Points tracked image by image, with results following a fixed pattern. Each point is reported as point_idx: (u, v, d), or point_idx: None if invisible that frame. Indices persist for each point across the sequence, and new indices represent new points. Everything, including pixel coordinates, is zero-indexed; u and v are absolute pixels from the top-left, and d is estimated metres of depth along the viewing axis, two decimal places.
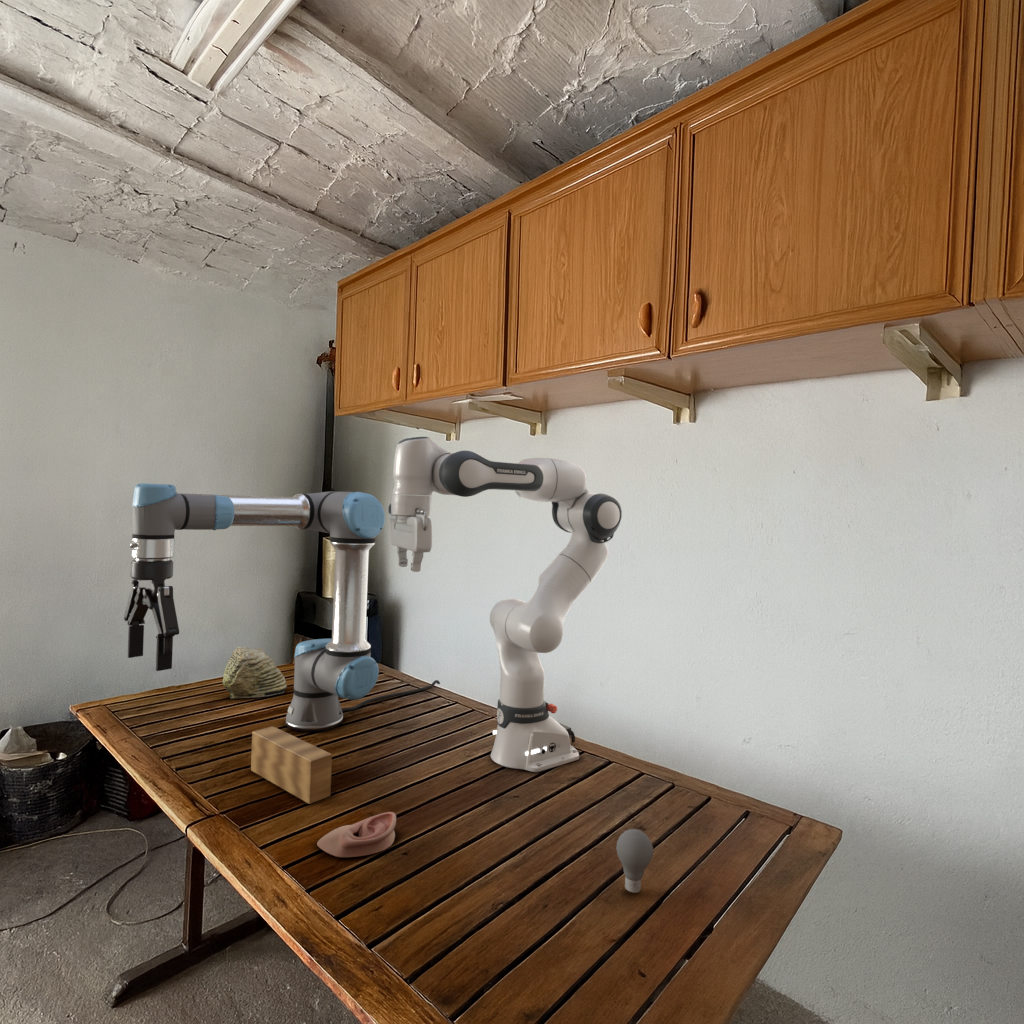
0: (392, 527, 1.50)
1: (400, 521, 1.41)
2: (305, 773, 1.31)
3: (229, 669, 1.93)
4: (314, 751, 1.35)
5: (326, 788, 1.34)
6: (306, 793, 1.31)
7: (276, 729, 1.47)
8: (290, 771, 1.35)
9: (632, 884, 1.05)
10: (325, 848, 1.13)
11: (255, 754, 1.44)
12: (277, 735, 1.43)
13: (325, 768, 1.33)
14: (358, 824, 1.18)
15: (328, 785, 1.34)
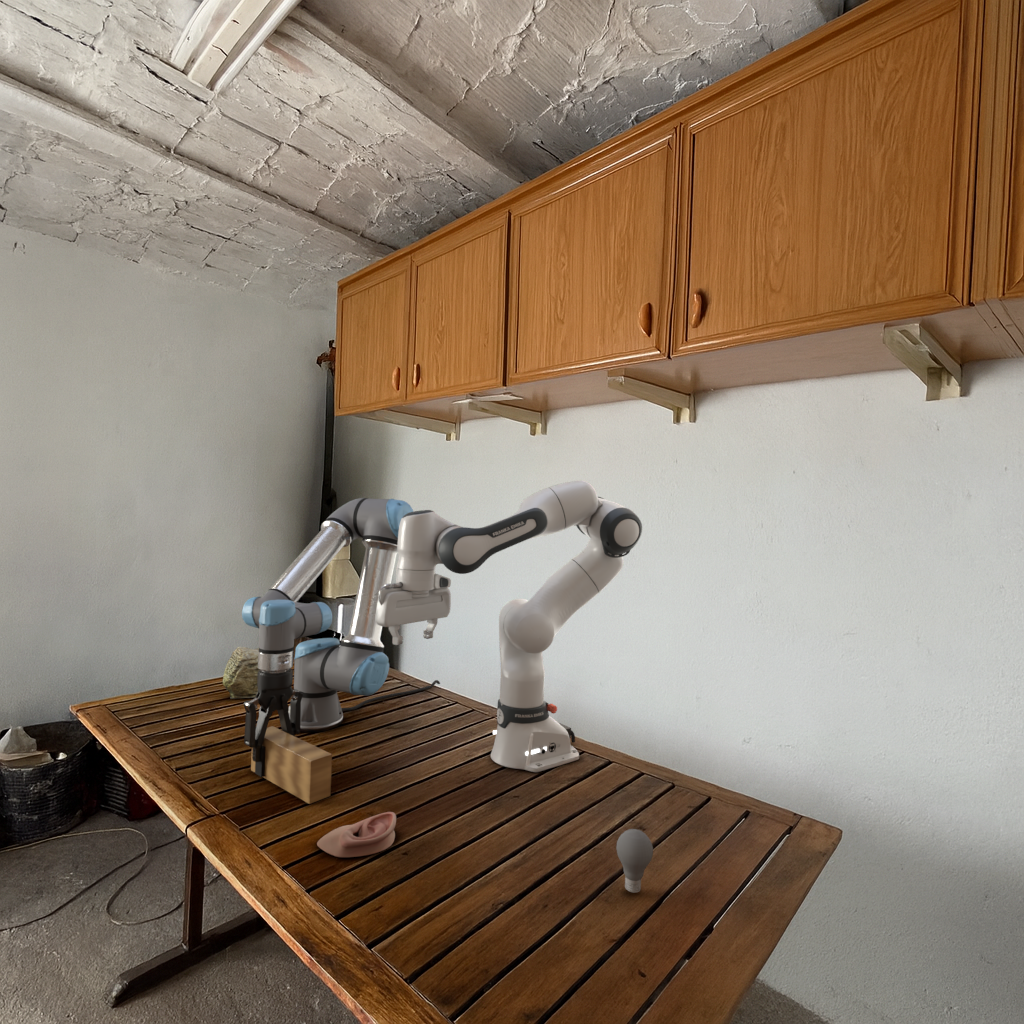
0: None
1: None
2: (305, 773, 1.31)
3: (229, 669, 1.93)
4: (314, 751, 1.35)
5: (326, 788, 1.34)
6: (306, 793, 1.31)
7: (276, 729, 1.47)
8: (290, 771, 1.35)
9: (632, 884, 1.05)
10: (325, 848, 1.13)
11: None
12: (277, 735, 1.43)
13: (325, 768, 1.33)
14: (358, 824, 1.18)
15: (328, 785, 1.34)
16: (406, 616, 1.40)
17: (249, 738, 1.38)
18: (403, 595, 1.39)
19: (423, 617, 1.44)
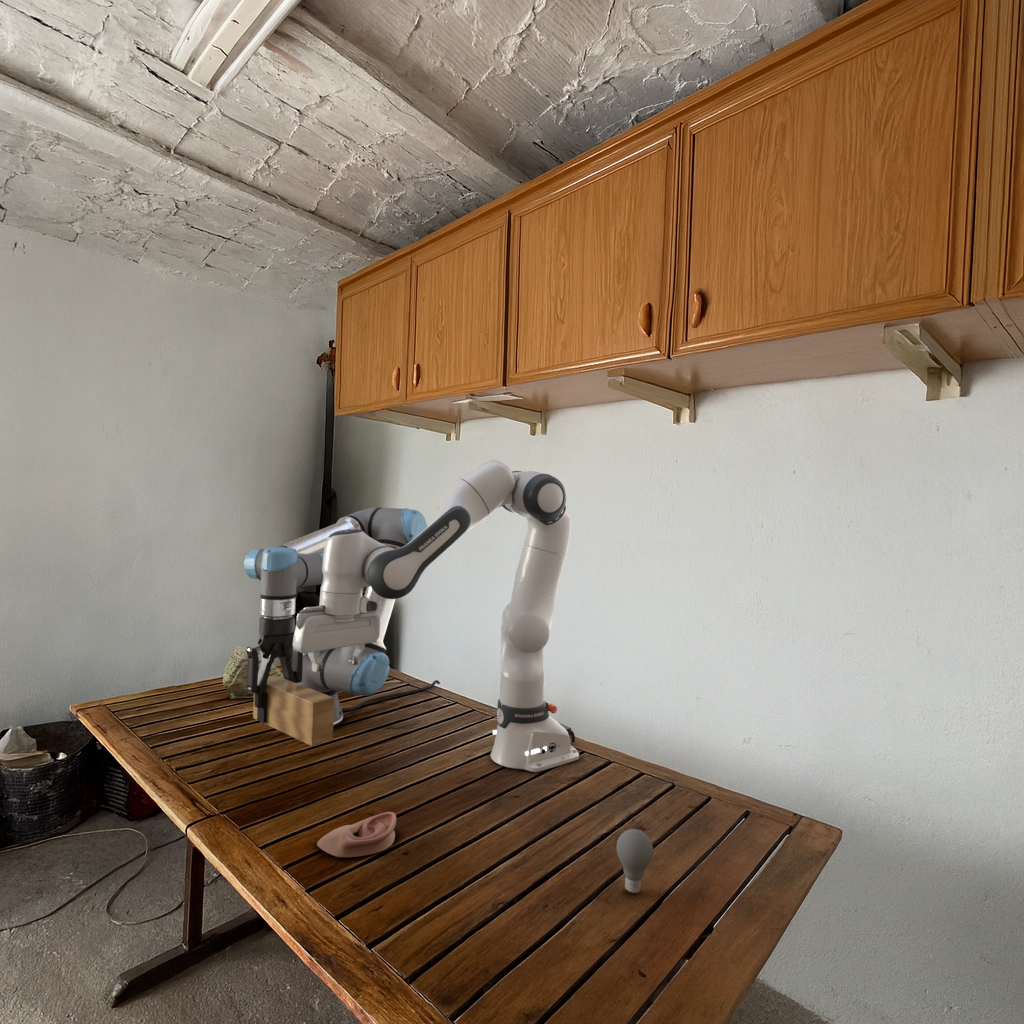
0: None
1: None
2: (308, 716, 1.31)
3: (229, 669, 1.93)
4: (316, 695, 1.35)
5: (329, 731, 1.33)
6: (308, 735, 1.31)
7: (278, 677, 1.46)
8: (292, 715, 1.35)
9: (632, 884, 1.05)
10: (325, 848, 1.13)
11: None
12: (279, 682, 1.43)
13: (327, 711, 1.33)
14: (358, 824, 1.18)
15: (331, 729, 1.34)
16: (326, 642, 1.32)
17: (251, 683, 1.38)
18: (324, 620, 1.31)
19: (347, 643, 1.37)
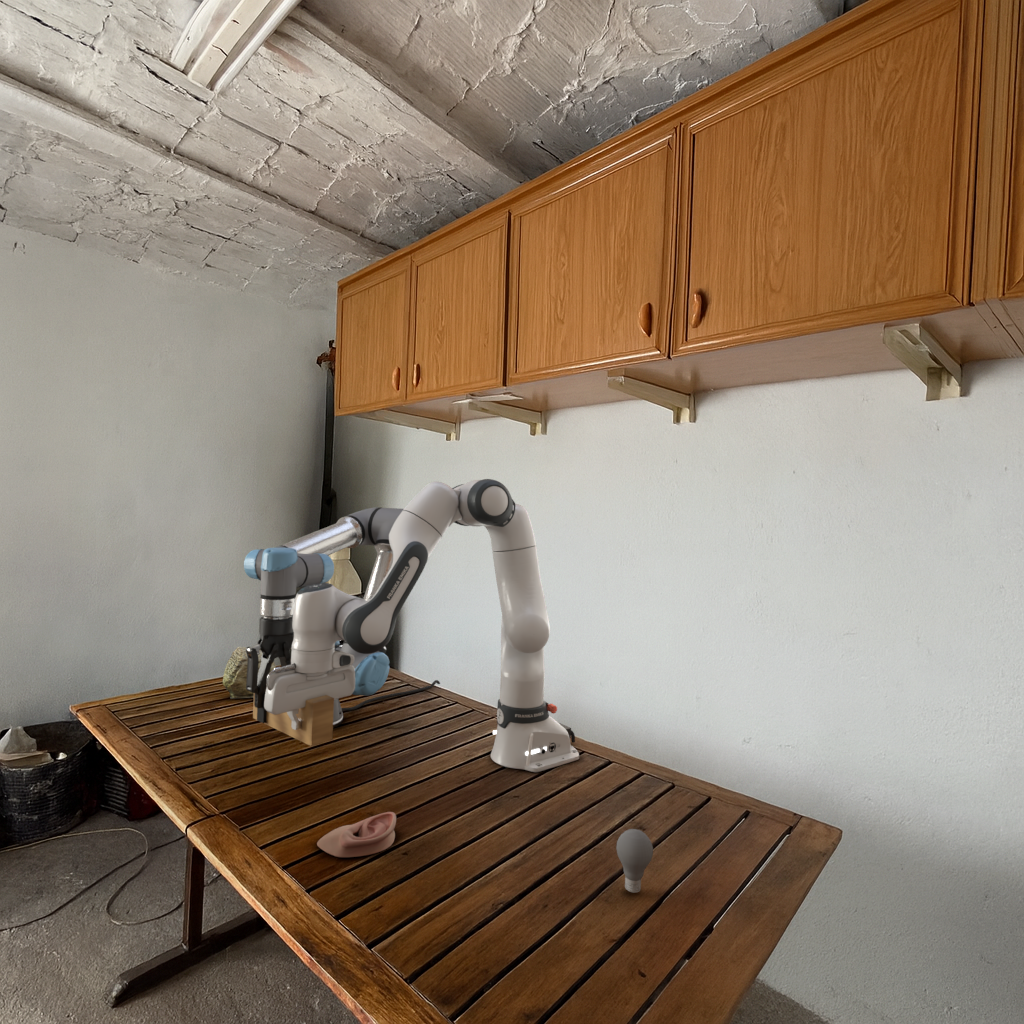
0: None
1: None
2: (307, 716, 1.31)
3: (229, 669, 1.93)
4: None
5: (328, 731, 1.33)
6: (308, 735, 1.31)
7: None
8: None
9: (632, 884, 1.05)
10: (325, 848, 1.13)
11: None
12: None
13: (327, 711, 1.33)
14: (358, 824, 1.18)
15: (330, 729, 1.34)
16: (299, 700, 1.30)
17: (251, 683, 1.38)
18: (295, 679, 1.30)
19: None
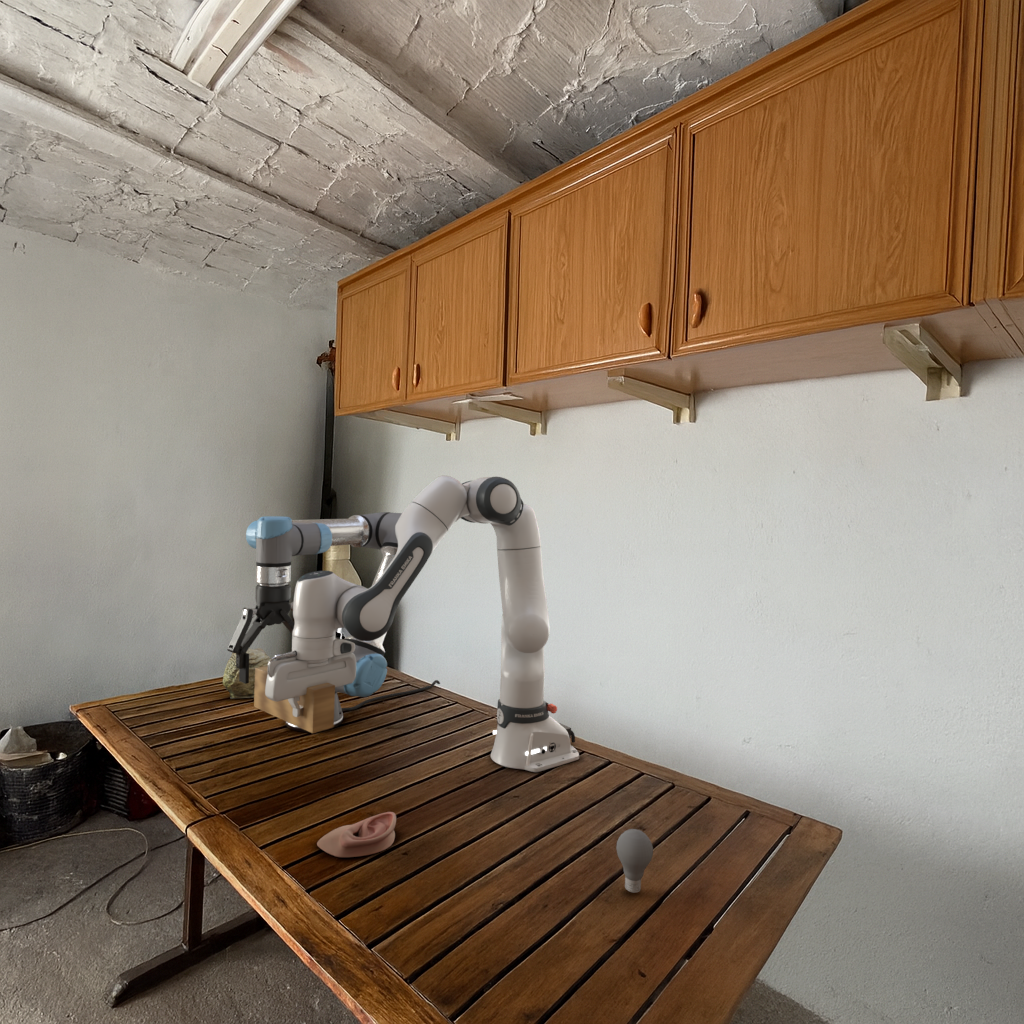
0: None
1: None
2: (308, 703, 1.31)
3: (229, 669, 1.93)
4: None
5: (329, 718, 1.33)
6: (309, 723, 1.31)
7: None
8: None
9: (632, 884, 1.05)
10: (325, 848, 1.13)
11: (258, 690, 1.43)
12: None
13: (328, 698, 1.33)
14: (358, 824, 1.18)
15: (331, 716, 1.34)
16: (300, 688, 1.30)
17: (235, 643, 1.37)
18: (296, 666, 1.29)
19: None
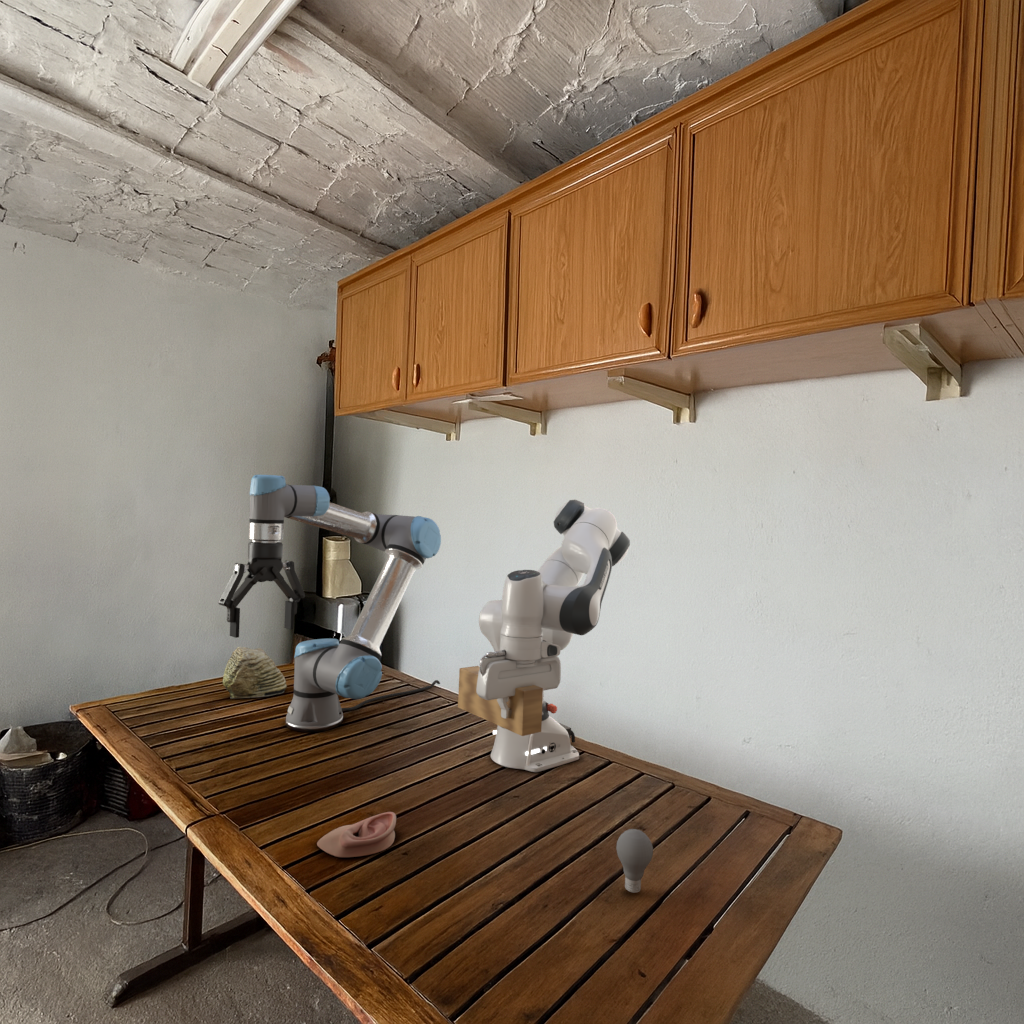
0: None
1: None
2: (517, 705, 1.28)
3: (229, 669, 1.93)
4: None
5: (537, 722, 1.29)
6: (518, 725, 1.28)
7: None
8: None
9: (632, 884, 1.05)
10: (325, 848, 1.13)
11: (462, 690, 1.44)
12: None
13: (536, 701, 1.29)
14: (358, 824, 1.18)
15: (539, 720, 1.30)
16: (509, 688, 1.28)
17: (226, 596, 1.39)
18: (506, 665, 1.28)
19: None
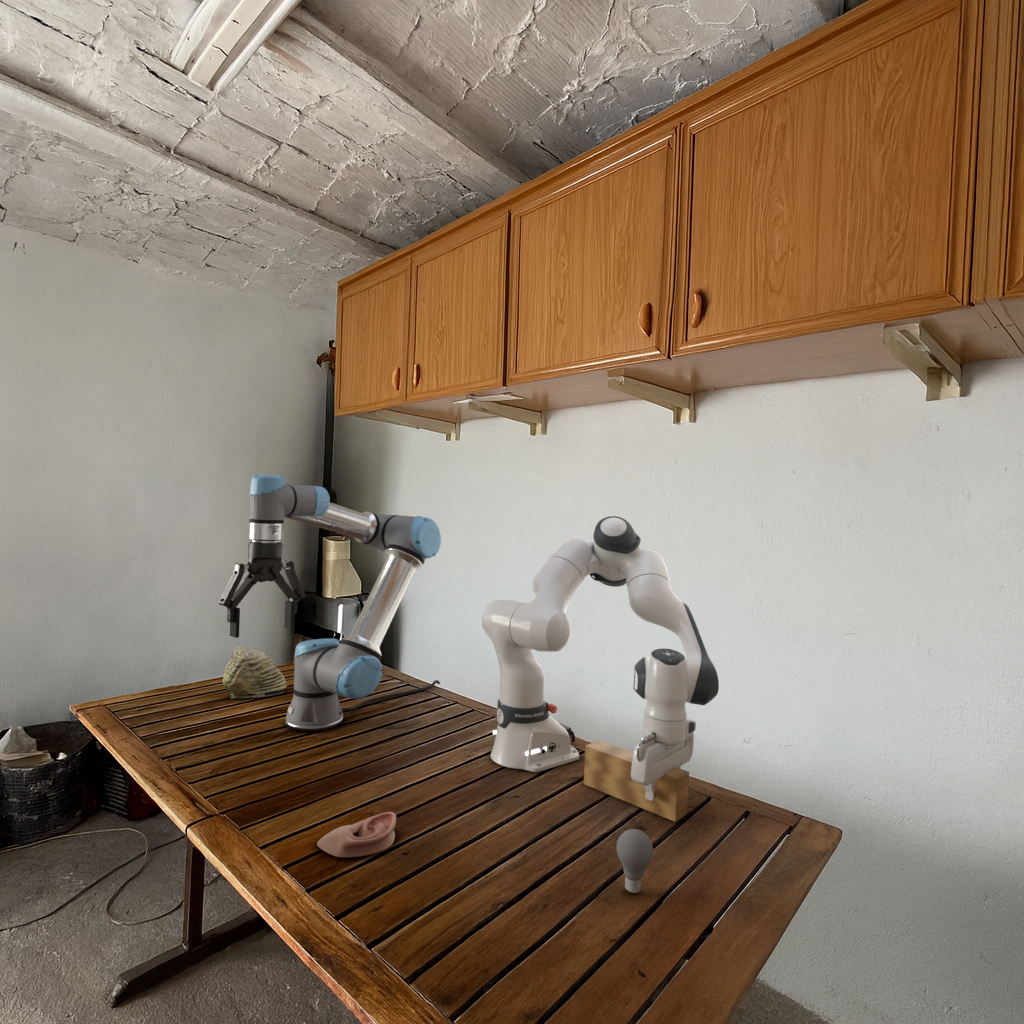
0: None
1: None
2: (669, 791, 1.31)
3: (229, 669, 1.93)
4: None
5: (685, 805, 1.33)
6: (670, 810, 1.30)
7: (605, 743, 1.47)
8: None
9: (632, 884, 1.05)
10: (325, 848, 1.13)
11: (590, 768, 1.44)
12: (613, 749, 1.43)
13: (685, 786, 1.32)
14: (358, 824, 1.18)
15: (686, 803, 1.33)
16: (660, 770, 1.30)
17: (226, 596, 1.39)
18: (659, 749, 1.29)
19: (673, 767, 1.34)
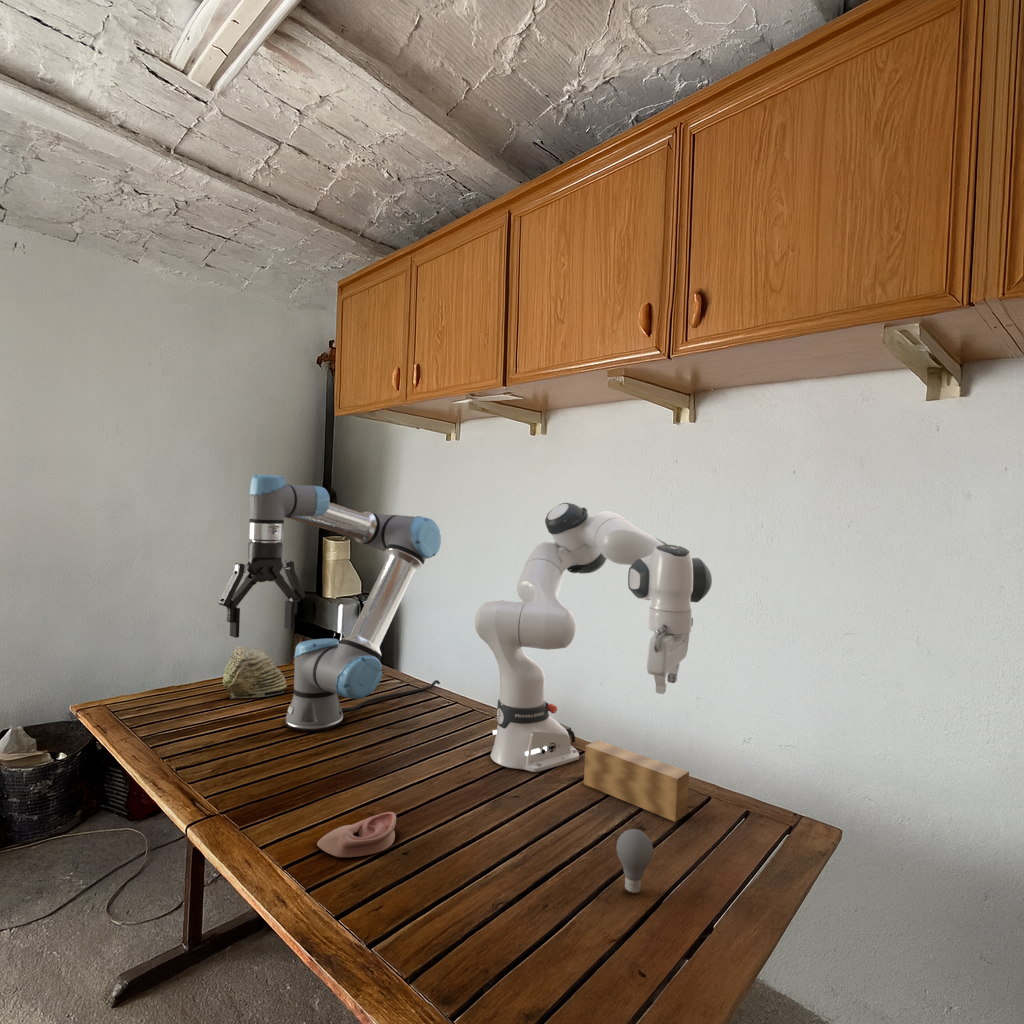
0: None
1: None
2: (669, 791, 1.31)
3: (229, 669, 1.93)
4: (668, 768, 1.35)
5: (685, 805, 1.33)
6: (670, 810, 1.30)
7: (605, 743, 1.47)
8: (644, 787, 1.34)
9: (632, 884, 1.05)
10: (325, 848, 1.13)
11: (590, 768, 1.44)
12: (613, 749, 1.43)
13: (685, 786, 1.32)
14: (358, 824, 1.18)
15: (686, 803, 1.33)
16: (671, 662, 1.30)
17: (226, 596, 1.39)
18: (671, 640, 1.29)
19: (677, 661, 1.34)
